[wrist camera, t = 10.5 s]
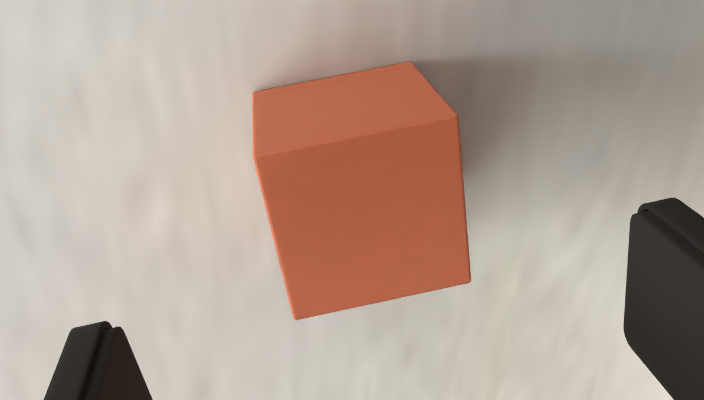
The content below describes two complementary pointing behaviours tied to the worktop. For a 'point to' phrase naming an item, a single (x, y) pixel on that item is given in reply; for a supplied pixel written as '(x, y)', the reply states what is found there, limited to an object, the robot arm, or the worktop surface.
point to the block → (362, 188)
